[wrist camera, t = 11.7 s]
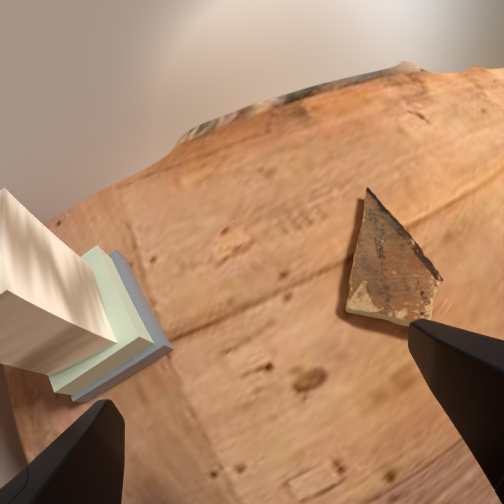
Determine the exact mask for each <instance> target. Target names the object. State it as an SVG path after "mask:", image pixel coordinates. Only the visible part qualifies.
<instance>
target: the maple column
mask: <svg viewBox="0 0 504 504" xmlns="http://www.w3.org/2000/svg"><path fill="white" fill-rule="evenodd" d="M116 343H117V341H116V338H115V336H114V333H113V330H112V327H111V324H110V321H109V318H108V316H107V313H106V309H105V306H104V303H103V300H102V297H101V294H100V291H99V287H98V284H97V281H96V277H95V274H94V270H93V267H91V266H90V265H89V264H88V263H87V262H85V261H84V260H83V259H82V258H81V257H79V256H78V255H77V254H76V253H75V252H73V251H72V250H71V249H70V248H69V247H68V246H66V245H65V244H64V243H63V242H62V241H61V240H60V239H58V238H57V237H56V236H55V235H54V234H53V233H52V232H50V231H49V230H48V229H47V228H46V227H45V226H44V225H43V224H42V223H41V222H39V221H38V220H37V219H36V218H35V217H34V216H33V215H32V214H31V213H30V212H29V211H28V210H27V209H26V208H25V207H23V206H22V205H21V204H20V203H19V202H18V201H17V200H16V199H15V198H14V197H13V196H12V195H11V194H10V193H9V192H8V191H7V190H6V189H5V188H3V189H2V190H0V363H1V364H5V365H8V366H12V367H16V368H20V369H24V370H28V371H32V372H36V373H40V374H45V375H49V376H54V375H56V374H58V373H60V372H62V371H64V370H66V369H68V368H69V367H71V366H73V365H75V364H77V363H79V362H81V361H83V360H85V359H87V358H89V357H91V356H93V355H95V354H97V353H99V352H101V351H103V350H105V349H107V348H109V347H111V346H113V345H115V344H116Z"/></svg>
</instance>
